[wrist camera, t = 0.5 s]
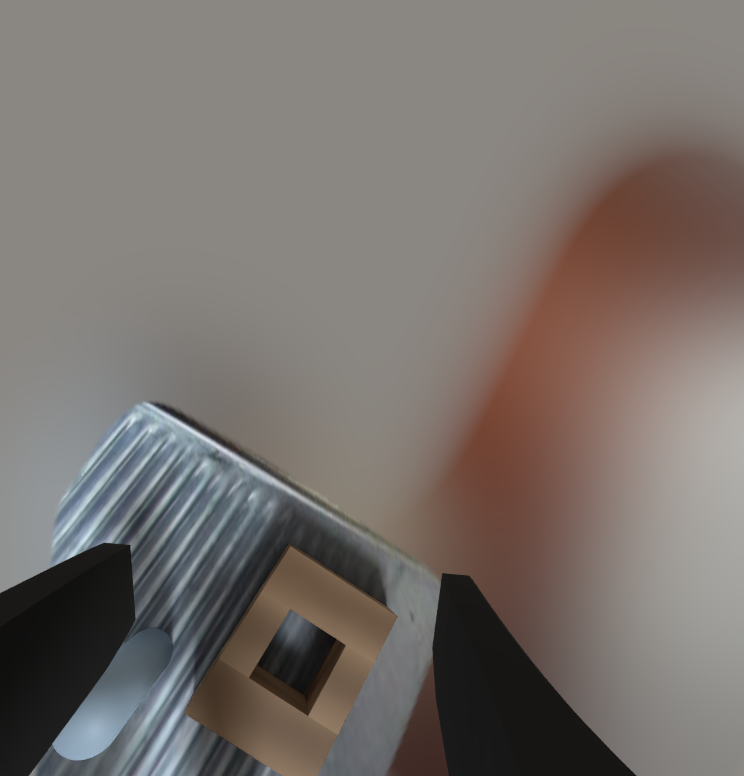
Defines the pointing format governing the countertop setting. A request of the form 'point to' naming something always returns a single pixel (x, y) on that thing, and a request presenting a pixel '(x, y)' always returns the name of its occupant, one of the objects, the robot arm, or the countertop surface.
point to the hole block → (271, 695)
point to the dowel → (115, 695)
